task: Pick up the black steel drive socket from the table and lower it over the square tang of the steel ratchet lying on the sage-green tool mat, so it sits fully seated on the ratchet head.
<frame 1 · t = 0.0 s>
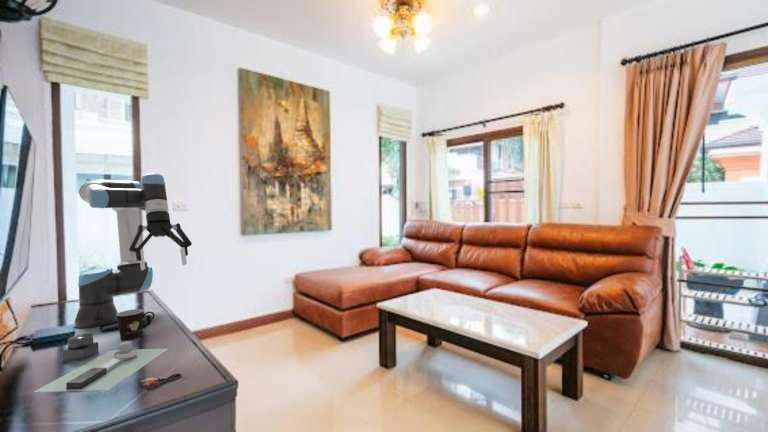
hand: (164, 266, 131), 28 cm above the tv stand, tool tilted 20°, fingers open, 13 cm apart
composite cable: (162, 384, 100), on the tv stand
ratchet: (125, 357, 116), resting on tool mat
coffee mug: (136, 338, 136), on the tv stand
tool mat: (109, 368, 109), on the tv stand
drive socket: (81, 357, 118), on the tv stand
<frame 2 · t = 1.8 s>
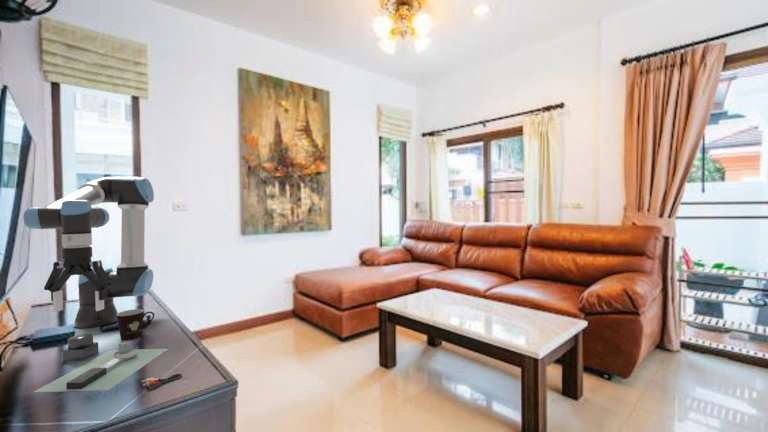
hand: (79, 310, 117), 16 cm above the tv stand, tool pointing down, fingers open, 13 cm apart
nothing on the tv stand moved.
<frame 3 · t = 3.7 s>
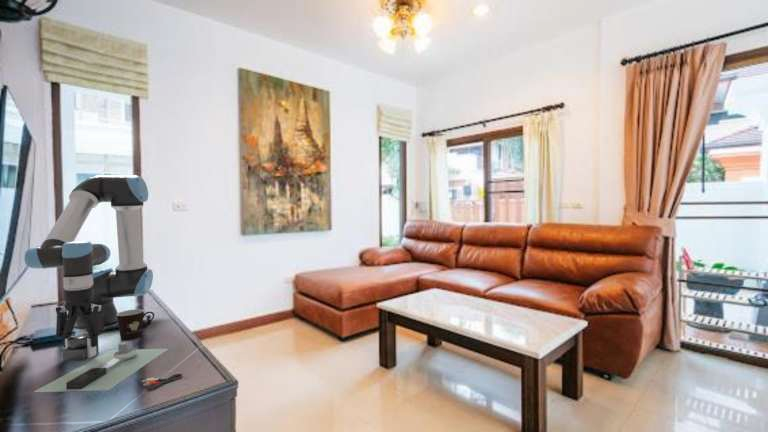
hand: (81, 356, 118), 0 cm above the tv stand, tool pointing down, fingers closed on drive socket, 6 cm apart
drive socket: (81, 357, 118), on the tv stand, touching gripper
everything else where it was.
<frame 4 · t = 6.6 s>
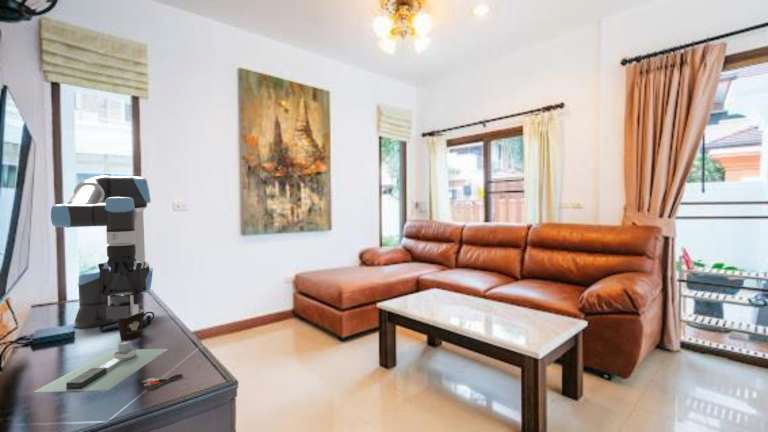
hand: (123, 314, 116), 15 cm above the tv stand, tool pointing down, fingers closed on drive socket, 6 cm apart
drive socket: (123, 315, 116), point 15 cm above the tv stand, touching gripper
everything else where it was.
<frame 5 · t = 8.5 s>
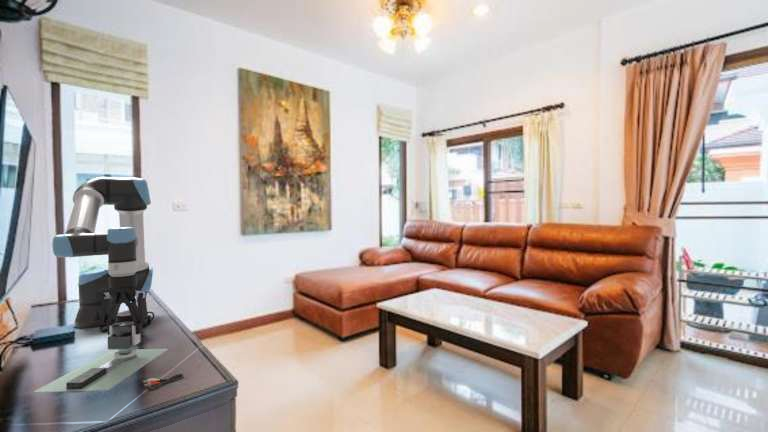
hand: (125, 343, 116), 5 cm above the tv stand, tool pointing down, fingers closed on drive socket, 6 cm apart
drive socket: (125, 345, 116), point 5 cm above the tv stand, touching gripper
everything else where it was.
when the fingers open (3 cm above the tv stand, at t = 9.4 s): drive socket stays where it is, resting on ratchet.
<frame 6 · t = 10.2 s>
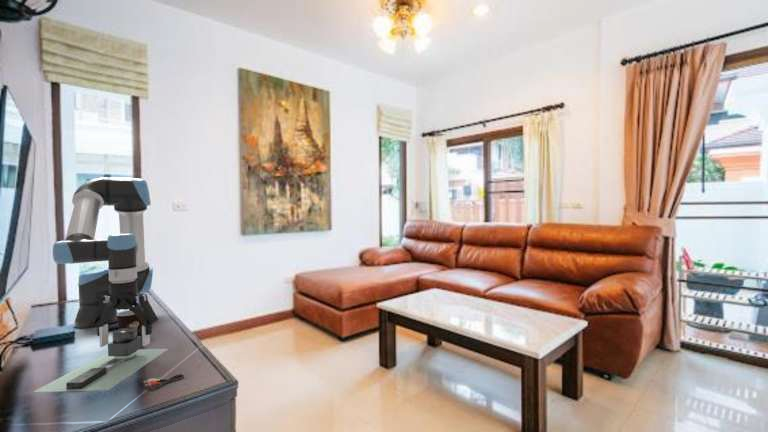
hand: (125, 345, 116), 5 cm above the tv stand, tool pointing down, fingers open, 13 cm apart
drive socket: (125, 351, 116), point 2 cm above the tv stand, touching ratchet
everything else where it was.
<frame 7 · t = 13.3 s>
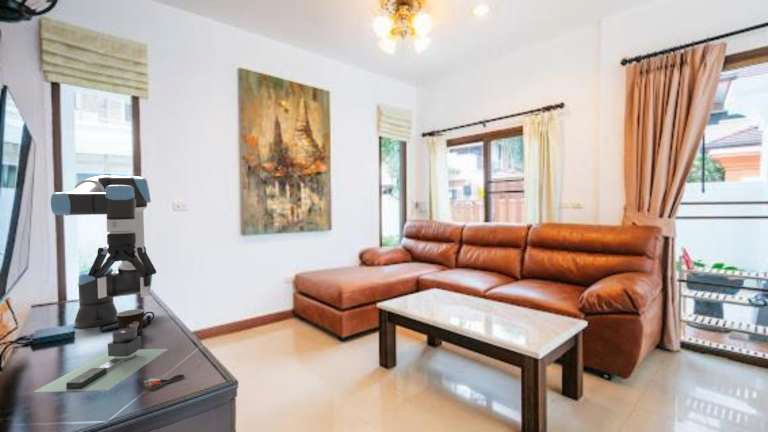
hand: (123, 297, 116), 21 cm above the tv stand, tool pointing down, fingers open, 13 cm apart
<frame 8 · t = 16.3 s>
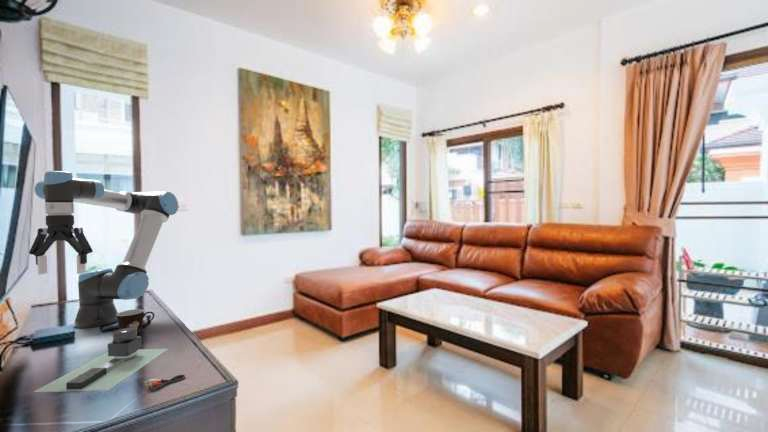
hand: (62, 273, 127), 27 cm above the tv stand, tool pointing down, fingers open, 13 cm apart
at the end: drive socket 0.0 cm off-centre on the ratchet, point 2.0 cm above the ratchet's base; drive socket tilted 0°; the gripper is holding nothing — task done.
